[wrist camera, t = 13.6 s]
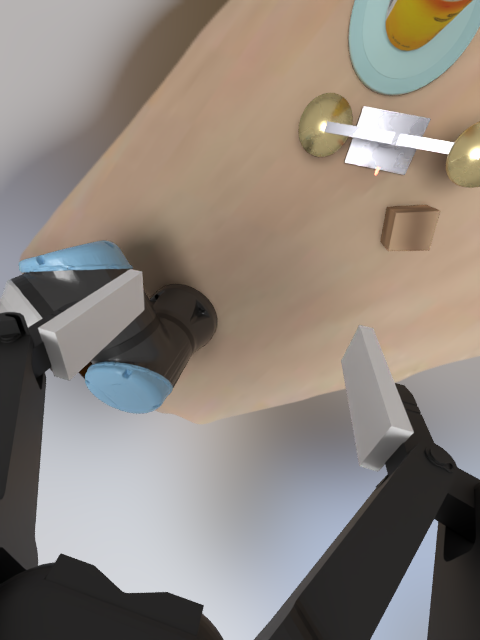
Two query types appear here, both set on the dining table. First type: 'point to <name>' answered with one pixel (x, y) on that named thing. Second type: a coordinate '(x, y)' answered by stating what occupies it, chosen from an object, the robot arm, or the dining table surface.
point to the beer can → (419, 20)
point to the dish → (398, 65)
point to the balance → (385, 139)
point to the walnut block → (409, 227)
